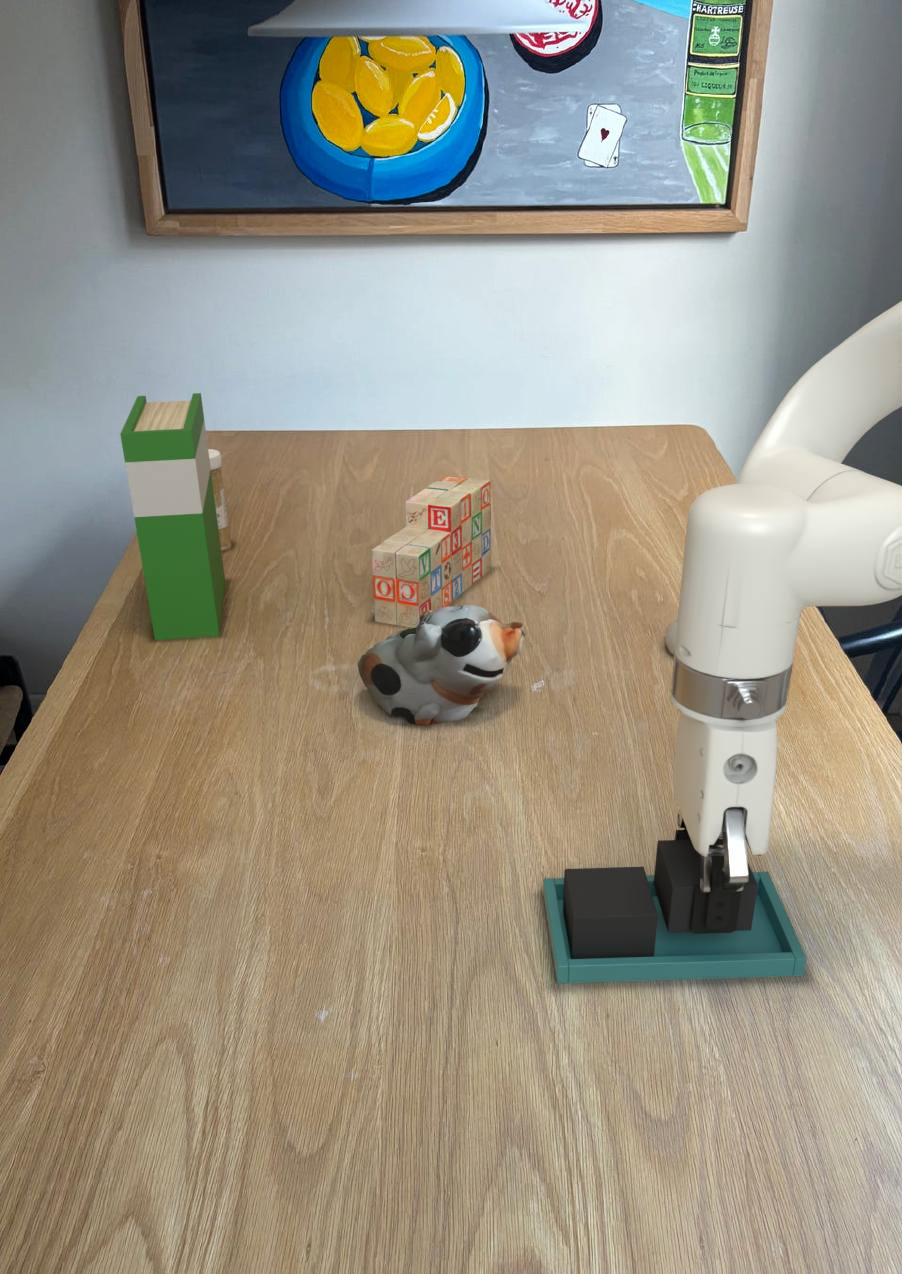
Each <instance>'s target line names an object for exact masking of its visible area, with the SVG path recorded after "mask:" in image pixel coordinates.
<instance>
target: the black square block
mask: <svg viewBox="0 0 902 1274" xmlns="http://www.w3.org/2000/svg"><path fill="white" fill-rule="evenodd" d="M714 845H723V838H719V839H717V840H716V842H715V844H714ZM747 862H748V874H749V878H748V882H747V883H746V884H744V885H743V891H742V892H741V899H740V906H739V913H738V919H737V926H736V930H735V931H746V930H751V927H752V921H753V915H754V908H755V902H756V895H757V889H758V885H757V882H756V880H755V878H754V875H753V873H752V872H753V870H752V869H751V866H750V863H749V861H748V860H747ZM723 867H724V857H712V869H711V874H712V873H713V872H715V871H716V870H722V868H723ZM653 875H654V887H655V890H656V894H657V897H658V900H659V904H660V907H661V910H662V914H663V917H664V921H665V924H666V927H667V931H668V933H673V932H692V931H691V928H690V919H691V910H692V902H693V894H694V885H695V884H700V854H699V853H698V852H697V851H696V850H695V848H694V846H693V844H692V841H691V840H675V839H663V840H661V839H658V840H657V844H656V853H655V863H654V874H653Z"/></svg>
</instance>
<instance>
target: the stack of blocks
mask: <svg viewBox="0 0 902 1274" xmlns="http://www.w3.org/2000/svg"><path fill="white" fill-rule="evenodd" d="M491 485H492V483H491V480H490V479H482V478H473V477H469V478H468V477H465V476H464V477H463V476H453V475H452V476H451V475H446V476H444V477H443V478H441V479H439V480H436V481H434V482H432V483H431V484H429V485H427V486H426V488H424V489H422V490H421V491H419V492H418V493H416V495H414V496H412V497H411V498H409V499H407V500H406V501H405V503H404V504H405V527H403V528H402V529H400V530H399V531H398V532H396V533H394V534H393V535H391V536H390V537H388V538H386V539H385V540H383V541H382V542H381V543H380V544H378V545H376V546H375V547H374V548H372V549H371V560H372V576H371V577H372V578H371V579H372V596H373V610H374V622H377V623H382V624H389V625H394V626H399V627H405V628H410V629H412V628H416V627H417V625H418V624H419V622H420V616H421V615H422V613H424V612H425V611H427V610H432V611H433V612H434V611H435V610H437V609H439V608H442V607H449V606H450V605H451V604H452V603H453V601H454V600H456V599H457V598H458V597H460V595H463V593H464V592H465V591H467V589H469V588H470V587H471V586H473V585H474V584H475V583H476V582H478V581H479V580H480V579H481V578H483V577H484V576H485V575H487V574H488V573H489V572H490V571H491V570H492V549H491V548H492V545H491V544H492V543H491V541H492V540H491V539H492V537H491V534H492V533H491V531H492V530H491V529H492V528H491V527H492V504H491V501H492V499H491V496H492V495H491V491H492V490H491V489H492V488H491V487H492V486H491Z"/></svg>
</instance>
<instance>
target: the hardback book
mask: <svg viewBox="0 0 902 1274" xmlns="http://www.w3.org/2000/svg"><path fill="white" fill-rule="evenodd" d="M129 412H130V413H129V414H128V416H127V419H126V421H125V422H124V425H123V427H122V430H121V431H120V433H119V434H120V441H121V448H122V452H123V459H124V464H125V470H126V476H127V483H128V488H129V495H130V499H131V506H132V507H131V508H132V512H133V518H134V523H135V531H136V535H137V541H138V547H139V555H140V559H141V565H142V566H141V567H142V571H143V577H144V582H145V588H146V589H145V590H146V595H147V596H146V597H147V600H148V601H147V602H148V606H149V614H150V619H151V626H152V630H153V637H154V640H155V641H163V640H176V639H177V640H179V639H192V638H206V637H220V631H221V622H222V613H223V603H224V597H225V596H224V595H225V586H226V578H225V577H226V575H225V569H224V562H223V553H222V551H221V545H220V537H219V530H218V522H217V514H216V506H215V499H214V491H213V483H212V476H211V468H210V460H209V452H208V449H209V446H208V439H207V438H208V437H207V431H206V429H207V428H206V423H205V422H206V421H205V415H204V406H203V399H202V393H201V392H197V393H196V392H194V393H192V396H191V399H190V400H176V401H174V400H172V401H154V402H153V401H151V402H147V396H146V395H137V397H136V398H135V401H134V403H133V406H132V407H131V410H130V411H129Z"/></svg>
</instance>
